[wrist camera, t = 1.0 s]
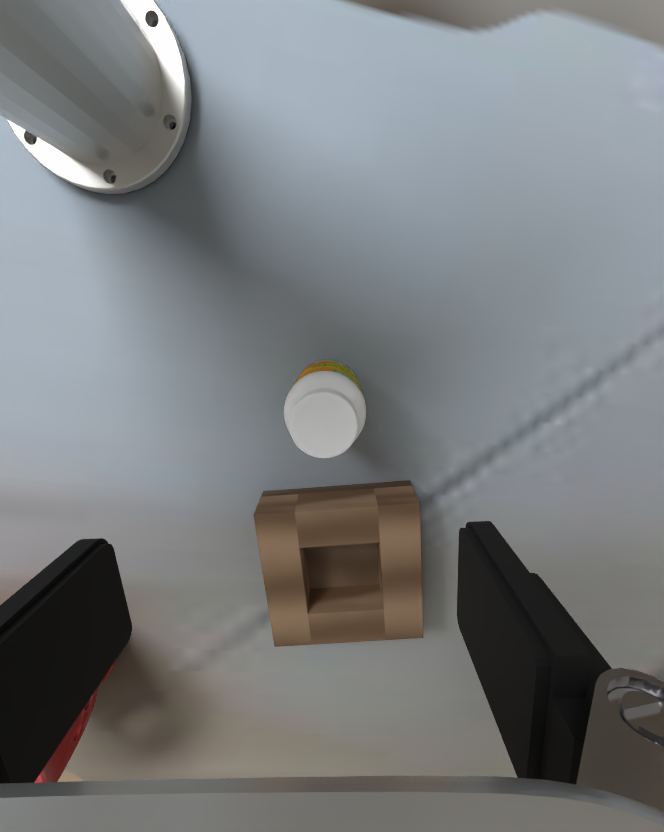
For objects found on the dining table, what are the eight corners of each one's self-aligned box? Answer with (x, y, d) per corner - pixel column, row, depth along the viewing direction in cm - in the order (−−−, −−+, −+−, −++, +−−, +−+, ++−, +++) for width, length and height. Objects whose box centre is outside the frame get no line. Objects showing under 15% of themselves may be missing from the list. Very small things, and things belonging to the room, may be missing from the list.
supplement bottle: (367, 367, 30) (382, 392, 20) (351, 429, 31) (357, 478, 22) (302, 352, 29) (286, 369, 20) (289, 415, 31) (268, 458, 21)
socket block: (263, 491, 33) (253, 515, 29) (409, 480, 32) (419, 502, 28) (281, 611, 36) (274, 646, 32) (413, 602, 36) (423, 637, 32)
